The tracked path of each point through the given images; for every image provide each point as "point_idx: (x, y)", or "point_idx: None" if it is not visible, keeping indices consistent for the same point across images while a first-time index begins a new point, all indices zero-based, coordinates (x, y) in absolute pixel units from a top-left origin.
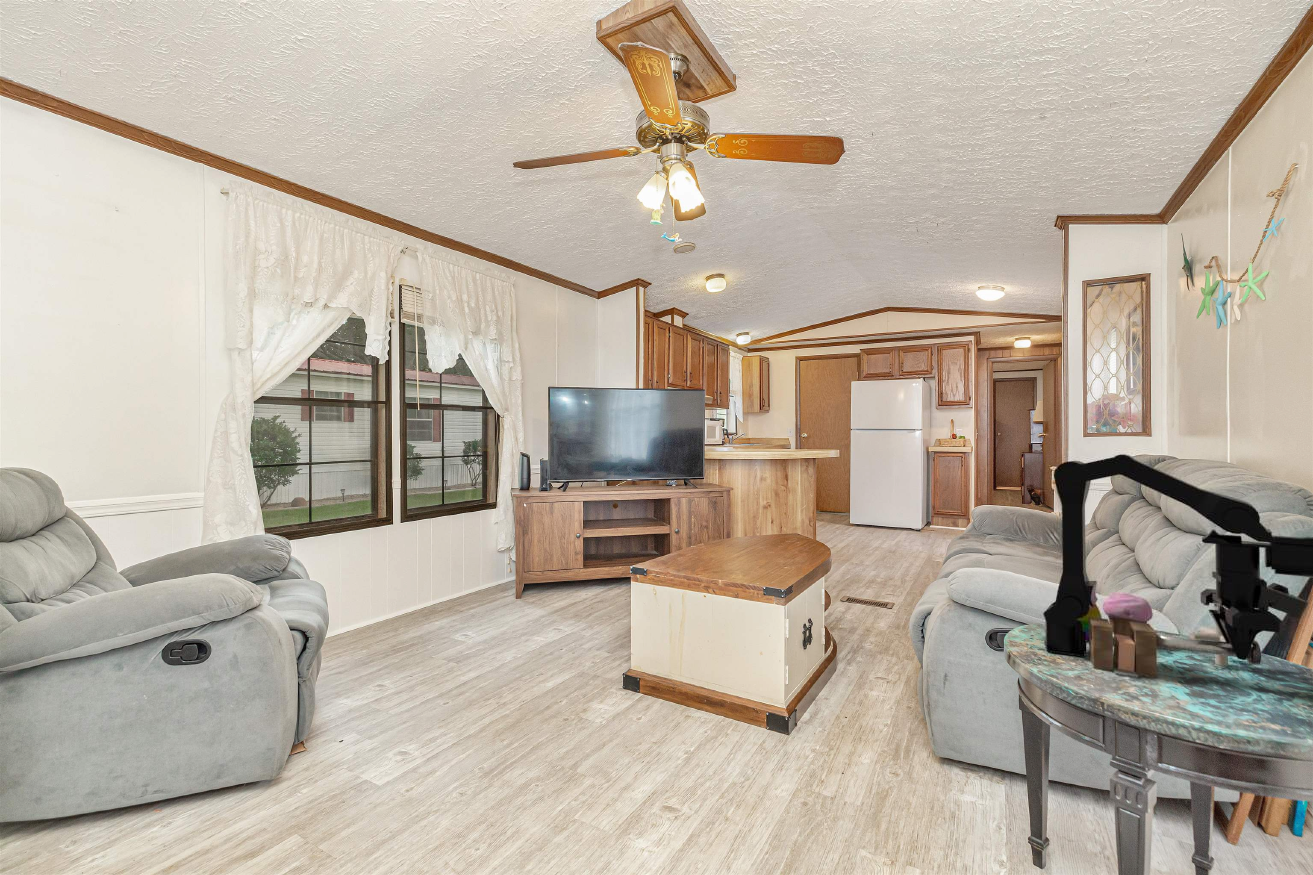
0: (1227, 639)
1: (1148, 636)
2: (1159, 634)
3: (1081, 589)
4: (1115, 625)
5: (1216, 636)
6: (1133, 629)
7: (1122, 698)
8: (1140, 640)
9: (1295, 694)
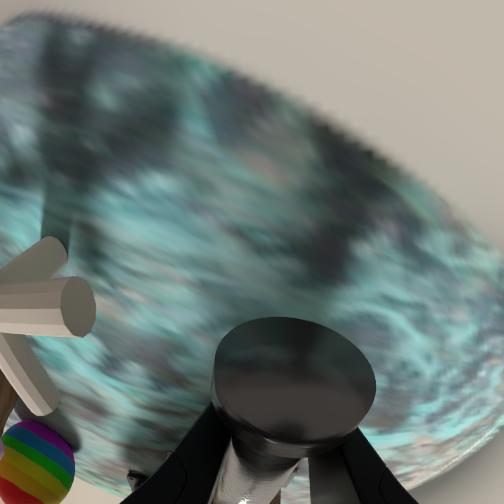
0: (221, 471)
1: None
2: None
3: None
4: (5, 422)
5: (6, 345)
6: None
7: (401, 482)
8: None
9: (350, 156)
